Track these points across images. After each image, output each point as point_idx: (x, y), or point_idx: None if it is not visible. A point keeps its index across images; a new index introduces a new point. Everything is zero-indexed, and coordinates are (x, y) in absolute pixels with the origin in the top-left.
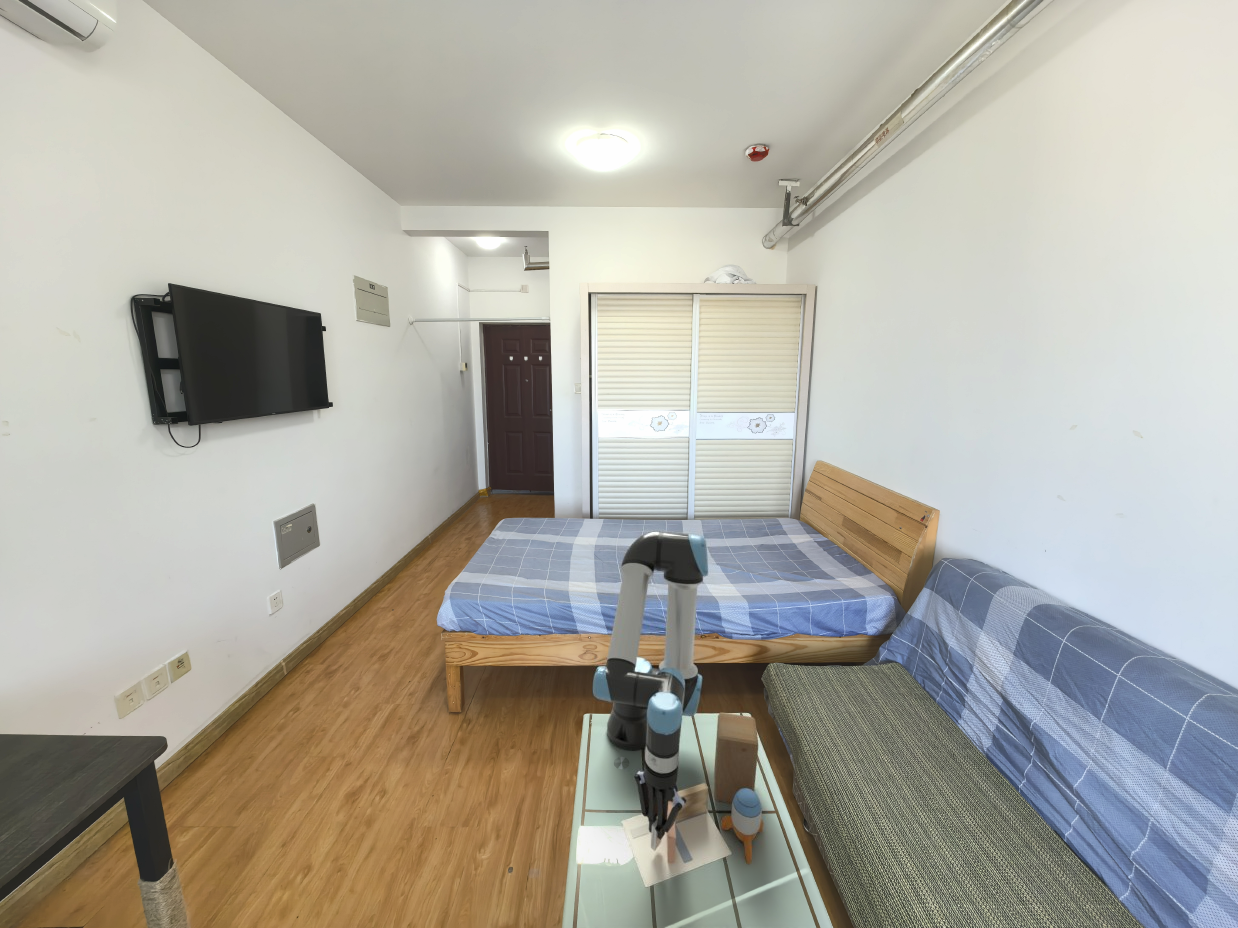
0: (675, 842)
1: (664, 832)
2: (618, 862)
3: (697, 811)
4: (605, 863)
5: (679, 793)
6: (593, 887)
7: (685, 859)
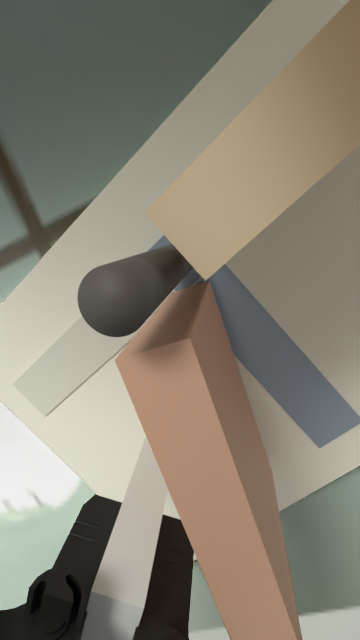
0: (296, 613)
1: (191, 562)
2: (43, 503)
3: None
4: (3, 517)
5: (229, 185)
6: (12, 588)
7: (322, 429)
